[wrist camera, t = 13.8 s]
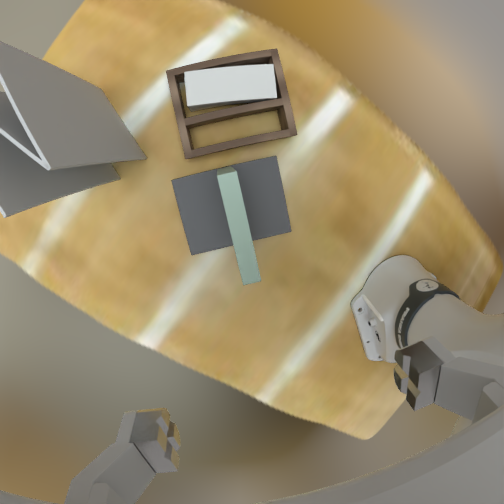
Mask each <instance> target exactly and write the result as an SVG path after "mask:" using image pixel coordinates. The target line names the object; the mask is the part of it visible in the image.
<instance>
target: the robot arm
mask: <svg viewBox="0 0 504 504" xmlns="http://www.w3.org/2000/svg"><path fill="white" fill-rule="evenodd" d="M351 308H352V311H353V314H354V317H355V321H356V324H357V327H358V331H359V334H360V337H361V341H362V344H363V348H364V351H365V355H366V357H367V358H368V359H369V360H372V361H382V360H385V361H386V362H389V363H397V365H396V366H395V368H394V379H395V383H396V385H397V387H398V389H399V390H400V392H402V393H405V394H407V396H406V400H407V402H408V403H409V404H410V406H411V407H412V409H413V410H414V411H416V410H418V409H420V408H423V407H425V406H427V405H429V404H432V403H434V402H435V404H437V405H439V406H441V407H443V408H445V409H447V410H449V411H452V412H454V413H456V414H458V415H460V417H459V418H458V420H457V422H456V424H455V426H454V429H453V431H452V433H451V436H450V437H449V438H447V439H446V440H443V441H441V442H439V443H437V444H435V445H433V446H431V447H430V448H427V449H425V450H423V451H421V452H419V453H417V454H415V455H413V456H410V457H408V458H406V459H404V460H401V461H399V462H397V463H394V464H392V465H389V466H387V467H384V468H382V469H379V470H377V471H374V472H372V473H368V474H366V475H363V476H360V477H357V478H354V479H351V480H349V481H345V482H342V483H339V484H336V485H332V486H329V487H326V488H322V489H318V490H315V491H311V492H307V493H303V494H299V495H295V496H290V497H286V498H281V499H276V500H271V501H266V502H260V503H254V504H504V313H502V314H498V315H487V314H484V313H481V312H479V311H477V310H476V309H474V308H472V307H470V306H469V305H467V304H465V303H464V302H462V301H461V300H460V298H459V296H458V295H457V294H455V293H454V292H453V291H452V290H450V289H449V288H447V287H446V286H445V285H443V284H441V283H439V282H438V281H437V279H436V277H435V276H434V275H433V274H432V273H430V272H428V271H426V270H425V268H424V267H423V266H422V265H421V264H420V262H419V261H418V260H416V259H415V258H413V257H411V256H407V255H398V256H394V257H391V258H389V259H387V260H385V261H384V262H382V263H381V264H380V265H378V266H377V267H376V268H375V269H374V271H373V272H372V273H371V275H370V276H369V278H368V279H367V281H366V283H365V285H364V287H363V289H362V290H361V291H360V292H359V293H358V294H357V295H356V296H355V297H354V299H353V300H352V302H351ZM359 308H361V309H360V310H358V309H359ZM179 448H180V436H179V432H178V429H177V427H176V425H175V423H173V422H171V421H170V414H169V412H168V411H167V409H165V408H157V409H147V410H139V411H126V412H125V413H124V415H123V418H122V421H121V425H120V428H119V432H118V435H117V439H116V443H115V444H111V445H110V446H109V447H108V448H107V449H106V450H104V451H103V452H102V453H101V454H100V455H99V456H98V457H97V458H96V459H95V460H94V461H92V462H91V463H90V464H89V465H88V466H87V467H86V468H84V469H83V470H82V471H81V472H80V473H79V474H78V475H77V476H76V477H74V478H73V479H72V481H71V484H70V487H69V490H68V493H67V496H66V500H65V503H64V504H135V502H136V501H137V500H138V498H139V497H140V496H141V494H142V493H143V492H144V490H145V489H146V487H147V486H148V485H149V483H150V482H151V481H152V479H153V478H154V477H155V475H156V473H163V472H174V471H178V466H179V456H178V454H177V453H176V451H177V450H178V449H179ZM0 504H57V503H51V502H46V501H40V500H36V499H32V498H27V497H23V496H19V495H15V494H11V493H8V492H5V491H1V490H0Z"/></svg>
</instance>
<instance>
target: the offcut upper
mask: <svg viewBox="0 0 504 504" xmlns="http://www.w3.org/2000/svg"><path fill="white" fill-rule="evenodd" d="M184 74H185V86H186V98H187V107H188V108H189V109H195V108H203V107H211V106H220V105H230V104H240V103H253V102H262V101H268V100H274V99H276V98H277V92H276V83H275V74H274V65H273V64H261V65H244V66H231V67H220V68H211V69H202V70H195V71H187V72H184Z"/></svg>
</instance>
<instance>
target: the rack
mask: <svg viewBox="0 0 504 504" xmlns="http://www.w3.org/2000/svg"><path fill="white" fill-rule="evenodd" d="M261 64H273V65H274V74H275V83H276V92H277V98H276V99H274V100H268V101H262V102H257V103H251V104H246V105H241V106H236V107H231V108H227V109H222V110H218V111H213V112H209V113H205V114H201V115H196V116H192V117H189V118H186V114H185V109H184V105H183V100H182V96H181V91H180V86H179V83H180V82H184V78H185V74H184V72H187V71H195V70H202V69H211V68H220V67H231V66H244V65H261ZM166 73H167V78H168V83H169V88H170V92H171V97H172V102H173V106H174V111H175V115H176V120H177V124H178V128H179V133H180V137H181V142H182V146H183V150H184V154H185V159H190V158H194V157H198V156H202V155H206V154H210V153H214V152H218V151H223V150H227V149H231V148H236V147H240V146H245V145H250V144H255V143H259V142H264V141H269V140H275V139H280V138H285V137H291V136H295V135H297V131H296V126H295V121H294V117H293V112H292V108H291V104H290V99H289V95H288V91H287V87H286V82H285V78H284V74H283V70H282V66H281V62H280V58H279V54H278V50H277V49H270V50H263V51H256V52H250V53H244V54H238V55H233V56H227V57H222V58H217V59H212V60H208V61H203V62H199V63H195V64H191V65H186V66H183V67H179V68H175V69H171V70H167V71H166ZM273 110H277V111H278V116H279V120H280V125H281V129H282V130H281V131H276V132H270V133H265V134H260V135H255V136H250V137H246V138H241V139H236V140H232V141H227V142H223V143H219V144H214V145H210V146H206V147H202V148H198V149H193V144H192V140H191V136H190V131H189V128H193V127H197V126H201V125H205V124H209V123H214V122H218V121H222V120H227V119H232V118H236V117H241V116H246V115H251V114H256V113H262V112H267V111H273Z"/></svg>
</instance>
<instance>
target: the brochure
mask: <svg viewBox="0 0 504 504" xmlns="http://www.w3.org/2000/svg"><path fill="white" fill-rule="evenodd" d="M0 81H1V84H2V86H3V88H4V90H5V92H0V212H1V213H2V215H3V217H4V218H6V217H9V216H11V215H14V214H16V213H19V212H22V211H24V210H27V209H30V208H32V207H35V206H38V205H41V204H44V203H47V202H49V201H52V200H55V199H58V198H61V197H64V196H67V195H70V194H73V193H76V192H80V191H83V190H86V189H89V188H93V187H96V186H99V185H103V184H106V183H109V182H113V181H116V180H120V179H121V178H120V177H119V175H118V174H117V172H116V171H115V169H114V168H113V166H112V165H111V163H112V162H122V161H133V160H145V159H147V157H146V156H145V154H144V153H143V151H142V150H141V148H140V147H139V145H138V144H137V142H136V141H135V139H134V138H133V136H132V135H131V133H130V132H129V130H128V129H127V127H126V126H125V124H124V123H123V121H122V120H121V118H120V117H119V115H118V114H117V112H116V111H115V109H114V108H113V106H112V105H111V103H110V102H109V100H108V98H107V97H106V95H105V94H104V92H103V91H102V89H100V88H98V87H96V86H94V85H93V84H91V83H89V82H87V81H85V80H83V79H81V78H79V77H77V76H75V75H73V74H71V73H69V72H67V71H65V70H62V69H60V68H58V67H56V66H54V65H52V64H50V63H48V62H46V61H44V60H41V59H39V58H37V57H35V56H33V55H31V54H28V53H26V52H24V51H21V50H19V49H17V48H15V47H13V46H10V45H8V44H5V43H3V42H1V41H0Z"/></svg>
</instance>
